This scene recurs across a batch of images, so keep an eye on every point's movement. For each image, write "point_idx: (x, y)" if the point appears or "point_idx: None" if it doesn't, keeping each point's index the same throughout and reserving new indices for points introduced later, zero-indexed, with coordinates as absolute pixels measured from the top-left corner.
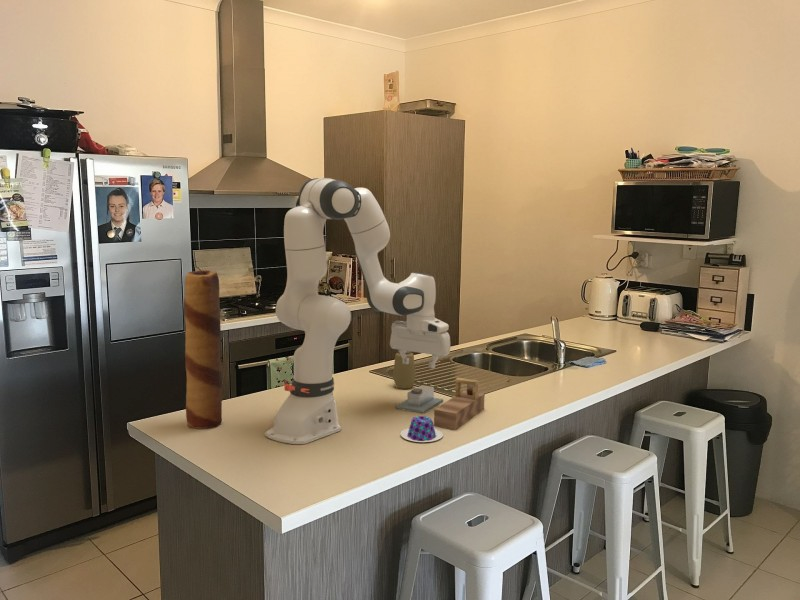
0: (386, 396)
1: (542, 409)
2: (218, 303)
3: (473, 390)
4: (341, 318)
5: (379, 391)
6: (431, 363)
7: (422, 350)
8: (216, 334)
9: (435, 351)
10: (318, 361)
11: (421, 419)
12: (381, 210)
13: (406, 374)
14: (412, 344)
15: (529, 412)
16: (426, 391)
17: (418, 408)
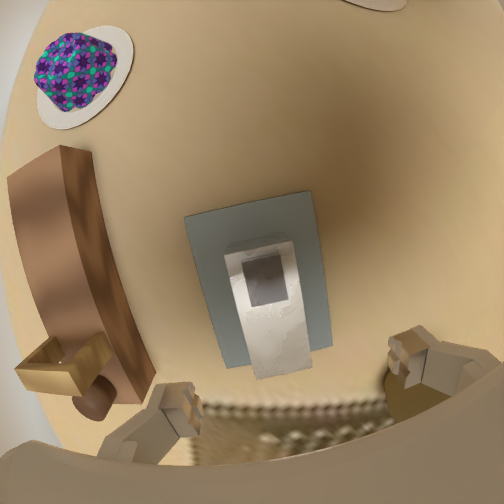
0: (407, 273)
1: (54, 420)
2: None
3: (35, 351)
4: None
5: (441, 293)
6: (159, 406)
7: (226, 489)
8: None
9: (64, 475)
10: None
11: (62, 63)
12: None
13: (411, 391)
14: (421, 497)
15: (47, 397)
16: (240, 320)
17: (220, 228)
